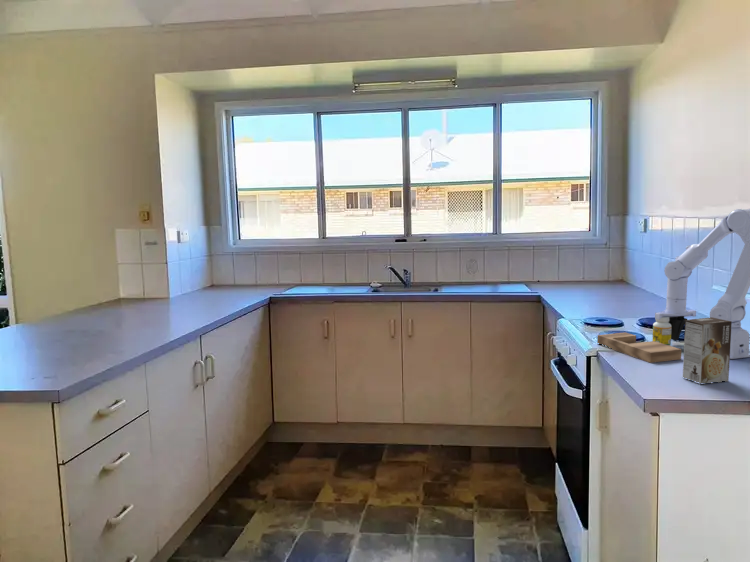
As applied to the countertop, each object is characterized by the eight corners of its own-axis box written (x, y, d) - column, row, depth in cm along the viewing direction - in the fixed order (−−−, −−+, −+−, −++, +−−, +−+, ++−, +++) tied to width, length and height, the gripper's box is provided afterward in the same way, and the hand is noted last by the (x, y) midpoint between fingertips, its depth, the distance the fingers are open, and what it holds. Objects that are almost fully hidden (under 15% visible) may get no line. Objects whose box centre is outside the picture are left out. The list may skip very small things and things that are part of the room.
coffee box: (709, 374, 160) (712, 316, 158) (729, 381, 154) (733, 321, 152) (681, 378, 157) (684, 319, 155) (700, 385, 151) (704, 324, 149)
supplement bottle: (673, 347, 189) (675, 318, 187) (656, 347, 189) (658, 318, 187) (665, 343, 194) (667, 314, 193) (649, 343, 194) (650, 315, 193)
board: (681, 359, 175) (681, 349, 175) (650, 362, 172) (650, 352, 172) (625, 341, 198) (625, 332, 198) (597, 344, 195) (597, 335, 195)
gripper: (685, 295, 197) (682, 334, 198) (648, 297, 192) (646, 338, 194) (702, 298, 190) (699, 339, 192) (665, 301, 186) (663, 343, 188)
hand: (674, 339), depth 193 cm, fingers closed
